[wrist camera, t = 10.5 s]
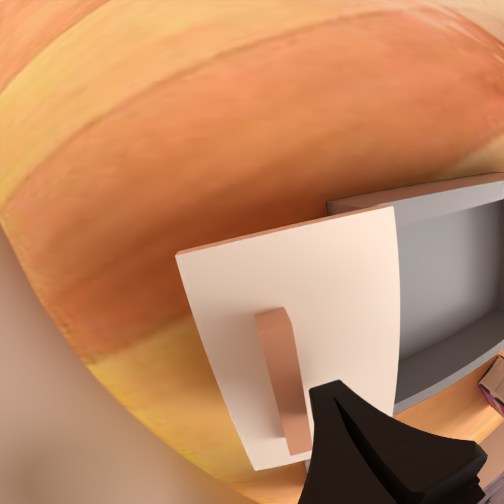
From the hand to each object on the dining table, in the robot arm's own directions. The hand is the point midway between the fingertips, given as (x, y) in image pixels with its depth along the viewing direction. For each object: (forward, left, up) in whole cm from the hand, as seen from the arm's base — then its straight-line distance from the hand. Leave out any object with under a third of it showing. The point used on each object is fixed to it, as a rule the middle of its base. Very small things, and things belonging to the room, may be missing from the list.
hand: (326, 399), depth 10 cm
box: (+13, 0, -8) cm, 15 cm away
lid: (0, 0, -2) cm, 2 cm away
